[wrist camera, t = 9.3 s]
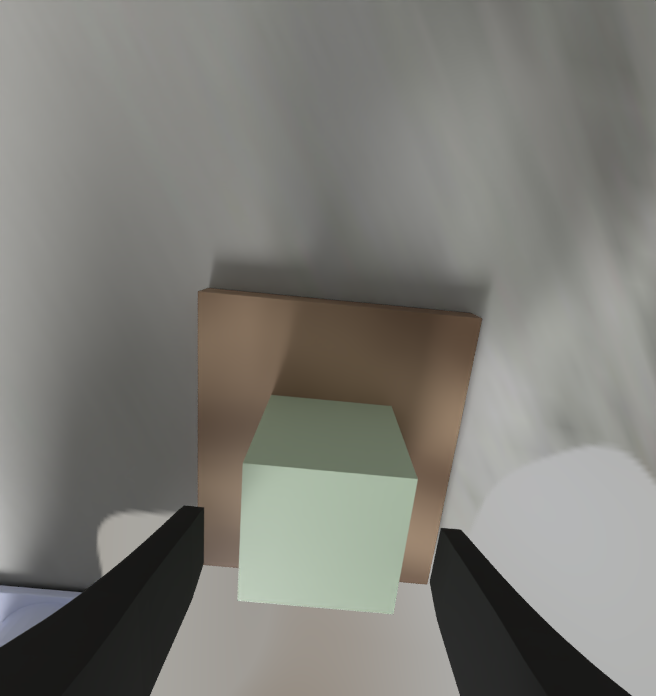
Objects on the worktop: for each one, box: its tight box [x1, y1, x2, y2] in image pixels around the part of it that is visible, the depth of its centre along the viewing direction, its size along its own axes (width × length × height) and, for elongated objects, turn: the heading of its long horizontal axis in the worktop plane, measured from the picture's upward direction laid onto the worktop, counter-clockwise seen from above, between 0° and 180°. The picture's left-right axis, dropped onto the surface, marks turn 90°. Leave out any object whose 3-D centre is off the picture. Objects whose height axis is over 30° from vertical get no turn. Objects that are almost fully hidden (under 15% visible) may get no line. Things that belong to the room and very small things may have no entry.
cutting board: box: [198, 288, 482, 584], centre depth 17 cm, size 13×11×1 cm
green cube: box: [238, 395, 418, 614], centre depth 14 cm, size 5×5×5 cm
